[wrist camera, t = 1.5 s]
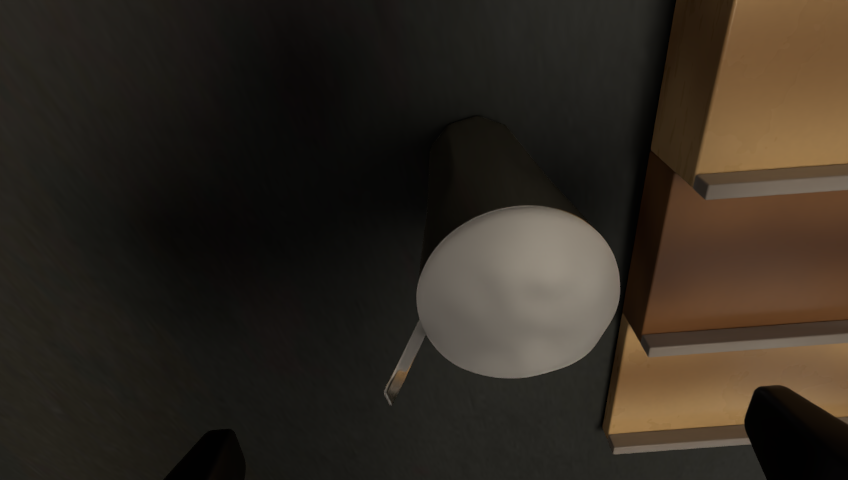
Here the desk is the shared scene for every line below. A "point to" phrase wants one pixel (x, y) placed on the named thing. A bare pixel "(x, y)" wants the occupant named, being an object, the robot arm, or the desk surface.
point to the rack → (738, 227)
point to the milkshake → (505, 262)
